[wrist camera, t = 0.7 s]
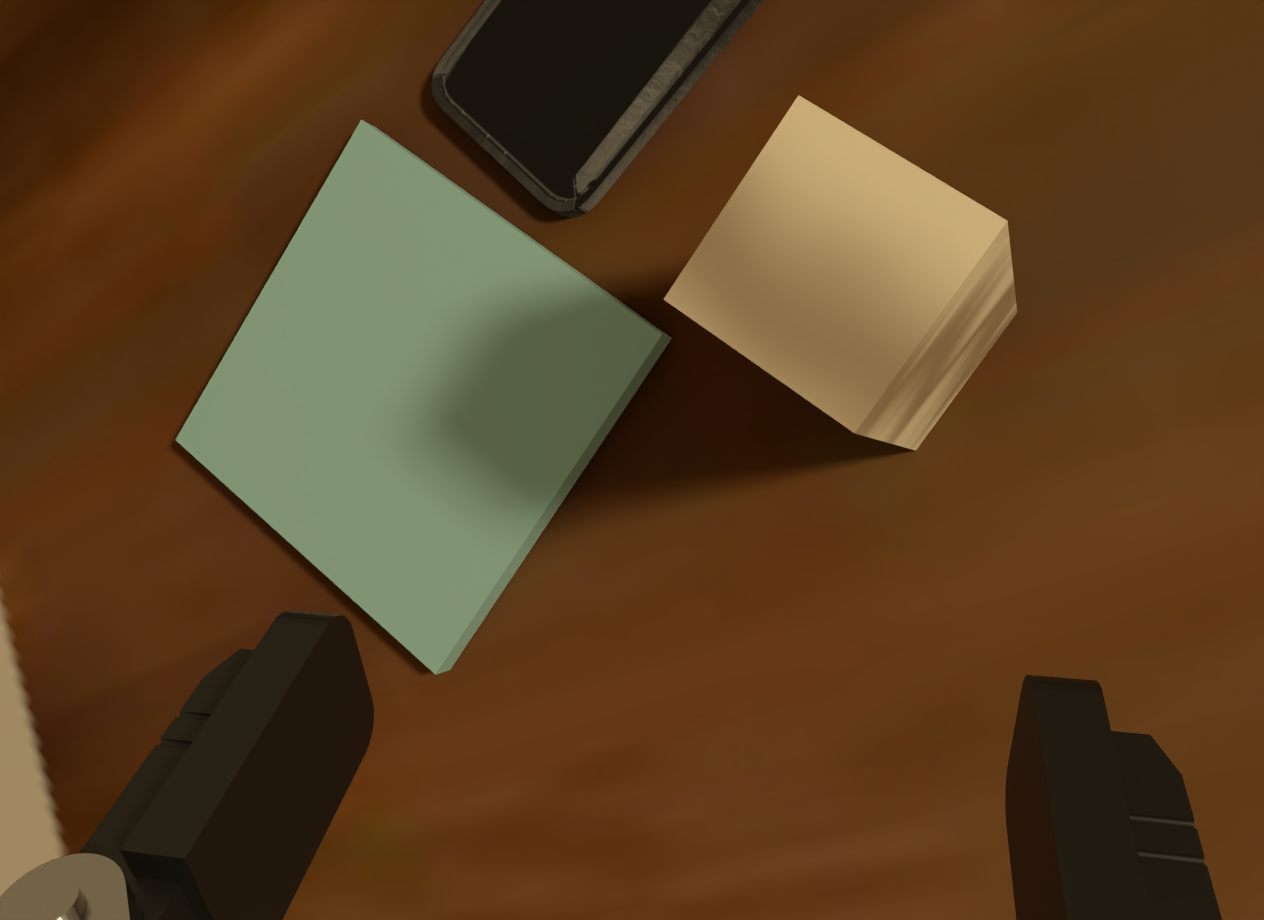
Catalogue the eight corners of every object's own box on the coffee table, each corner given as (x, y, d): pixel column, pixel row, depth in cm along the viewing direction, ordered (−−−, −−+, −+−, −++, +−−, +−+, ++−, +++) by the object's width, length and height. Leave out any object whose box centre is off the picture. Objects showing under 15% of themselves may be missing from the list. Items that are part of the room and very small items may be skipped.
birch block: (877, 224, 34) (798, 95, 23) (1016, 312, 32) (1007, 220, 21) (783, 359, 35) (663, 299, 24) (915, 450, 33) (854, 433, 22)
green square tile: (377, 128, 40) (361, 119, 39) (671, 338, 36) (662, 334, 35) (194, 440, 43) (175, 440, 42) (449, 669, 39) (435, 674, 38)
